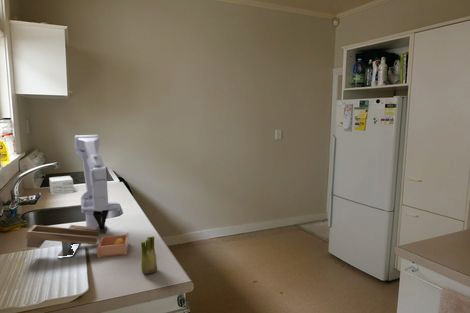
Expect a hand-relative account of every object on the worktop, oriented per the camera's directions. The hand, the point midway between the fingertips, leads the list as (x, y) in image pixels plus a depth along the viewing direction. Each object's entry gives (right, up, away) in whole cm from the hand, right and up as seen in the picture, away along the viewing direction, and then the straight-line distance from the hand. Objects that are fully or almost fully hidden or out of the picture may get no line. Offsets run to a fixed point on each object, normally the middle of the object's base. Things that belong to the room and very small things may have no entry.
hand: (102, 228), depth 131 cm
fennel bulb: (+26, -9, -24) cm, 37 cm away
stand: (-10, -7, -7) cm, 13 cm away
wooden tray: (-10, -3, -8) cm, 13 cm away
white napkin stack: (-64, +5, +86) cm, 107 cm away
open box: (+8, -7, -8) cm, 13 cm away
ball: (+10, -4, -7) cm, 13 cm away
